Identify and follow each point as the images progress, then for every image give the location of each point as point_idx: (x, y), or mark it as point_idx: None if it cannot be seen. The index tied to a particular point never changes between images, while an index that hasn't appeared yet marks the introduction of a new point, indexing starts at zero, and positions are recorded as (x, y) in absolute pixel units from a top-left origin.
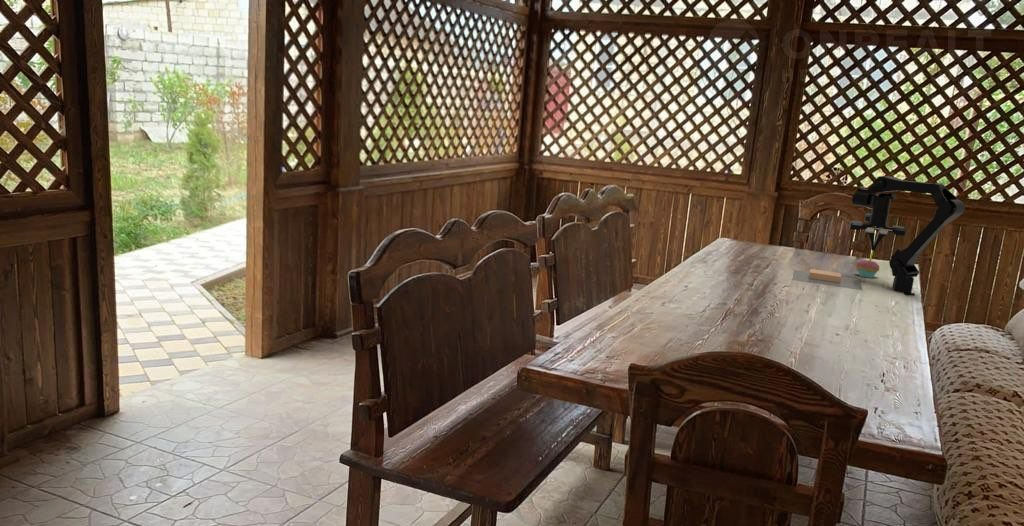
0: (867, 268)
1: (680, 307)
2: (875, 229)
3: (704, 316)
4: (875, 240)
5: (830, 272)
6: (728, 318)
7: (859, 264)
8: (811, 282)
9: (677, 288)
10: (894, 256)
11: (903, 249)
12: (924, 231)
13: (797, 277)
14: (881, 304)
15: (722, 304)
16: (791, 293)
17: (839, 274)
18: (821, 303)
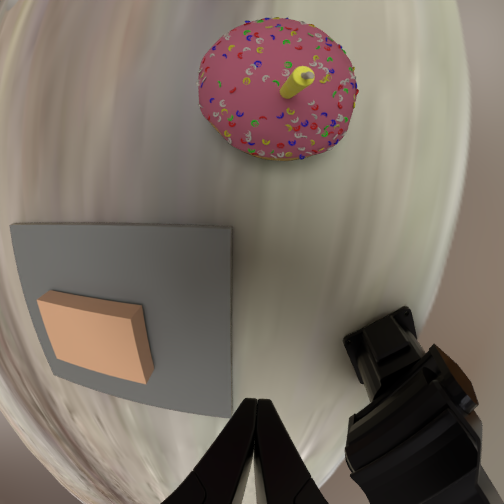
0: (269, 159)
1: (72, 480)
2: None
3: (97, 495)
4: (264, 499)
5: (96, 327)
6: (112, 500)
7: (212, 118)
8: (91, 387)
9: (26, 436)
10: (365, 486)
11: (436, 492)
12: None
13: (47, 344)
14: None
15: (83, 478)
16: (102, 449)
17: (130, 347)
18: (161, 481)
